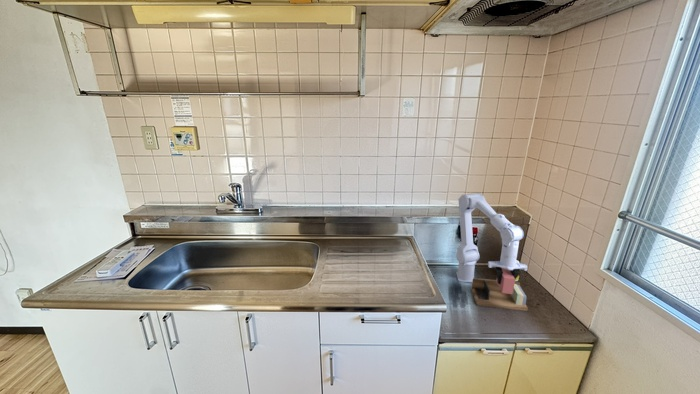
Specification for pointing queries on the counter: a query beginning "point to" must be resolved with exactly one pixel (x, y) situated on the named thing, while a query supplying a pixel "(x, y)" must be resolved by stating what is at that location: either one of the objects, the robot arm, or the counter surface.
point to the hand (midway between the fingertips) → (504, 283)
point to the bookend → (483, 292)
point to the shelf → (495, 296)
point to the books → (519, 295)
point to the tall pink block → (506, 282)
